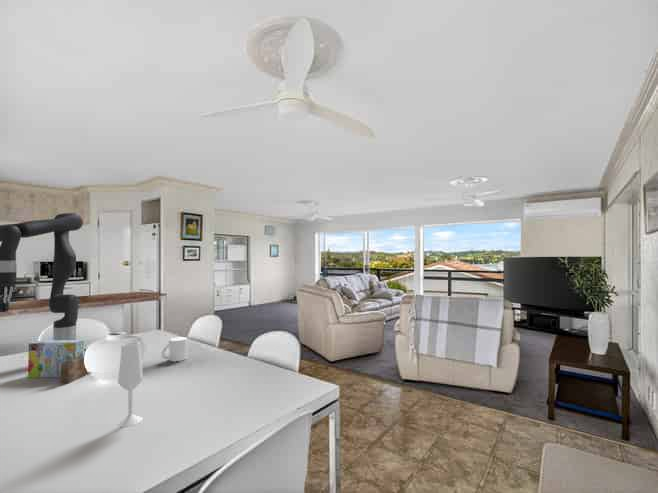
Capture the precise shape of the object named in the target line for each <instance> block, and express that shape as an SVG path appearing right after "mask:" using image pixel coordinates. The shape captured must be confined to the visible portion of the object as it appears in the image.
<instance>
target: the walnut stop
mask: <svg viewBox="0 0 658 493" xmlns="http://www.w3.org/2000/svg"><path fill="white" fill-rule="evenodd" d="M87 348H88V347H86V348H83V356H81V357H78V358H76V359H73V354H69V355H67V362H65V363H63V364H61V377H60V384H61V383H64V384H66V385H67V384H70V383H73V382H75V381H77V380H79V379H81V378H83V377H85V376H88V375H90V374H89V373H88V372H87V370H86V368H85V365H84V355H85V351H86V349H87Z"/></svg>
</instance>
